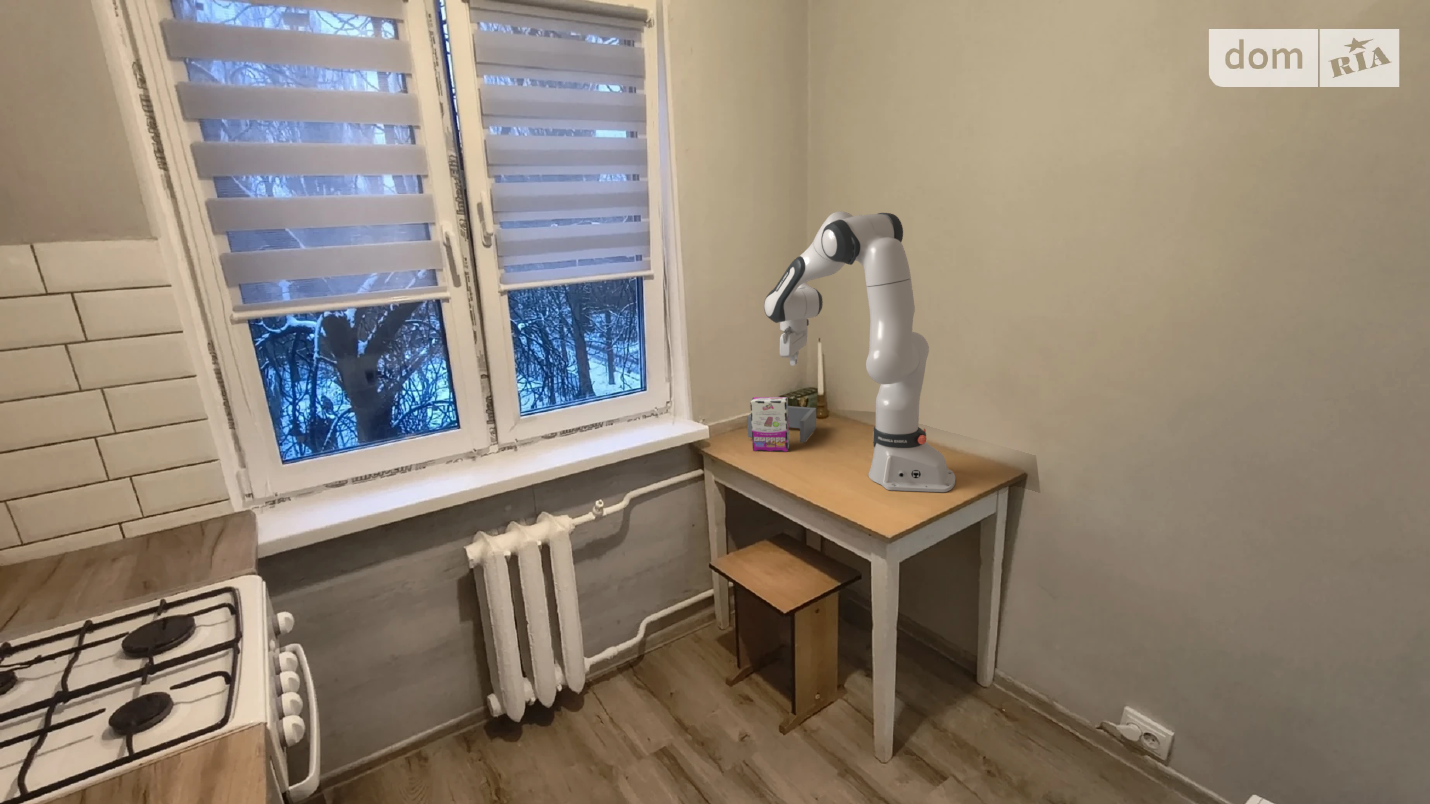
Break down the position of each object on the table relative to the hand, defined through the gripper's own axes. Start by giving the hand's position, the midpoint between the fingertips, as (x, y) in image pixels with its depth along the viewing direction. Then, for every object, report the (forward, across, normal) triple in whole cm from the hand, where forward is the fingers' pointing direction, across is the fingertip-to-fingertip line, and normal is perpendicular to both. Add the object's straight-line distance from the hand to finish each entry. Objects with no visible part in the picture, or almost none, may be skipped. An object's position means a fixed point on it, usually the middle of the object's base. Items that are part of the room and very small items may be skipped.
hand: (793, 364), depth 216 cm
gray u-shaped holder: (+21, -14, 0) cm, 25 cm away
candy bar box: (+21, -26, 0) cm, 34 cm away
